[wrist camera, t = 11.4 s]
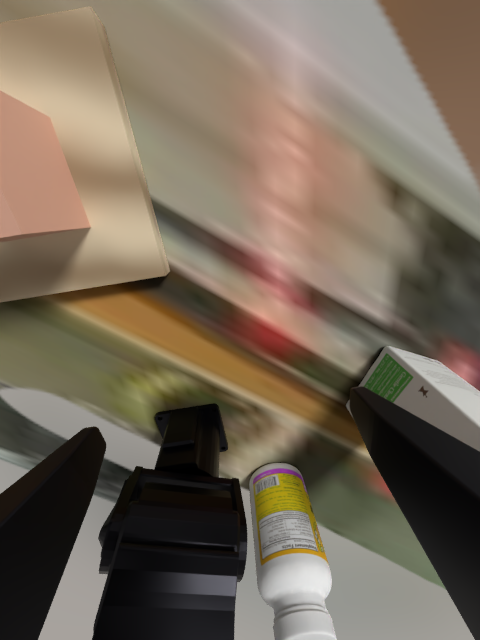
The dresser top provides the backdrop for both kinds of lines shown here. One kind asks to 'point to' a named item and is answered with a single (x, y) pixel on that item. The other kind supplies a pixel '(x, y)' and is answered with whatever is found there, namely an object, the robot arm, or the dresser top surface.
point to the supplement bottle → (289, 554)
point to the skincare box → (427, 392)
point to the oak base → (80, 159)
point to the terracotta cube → (34, 176)
